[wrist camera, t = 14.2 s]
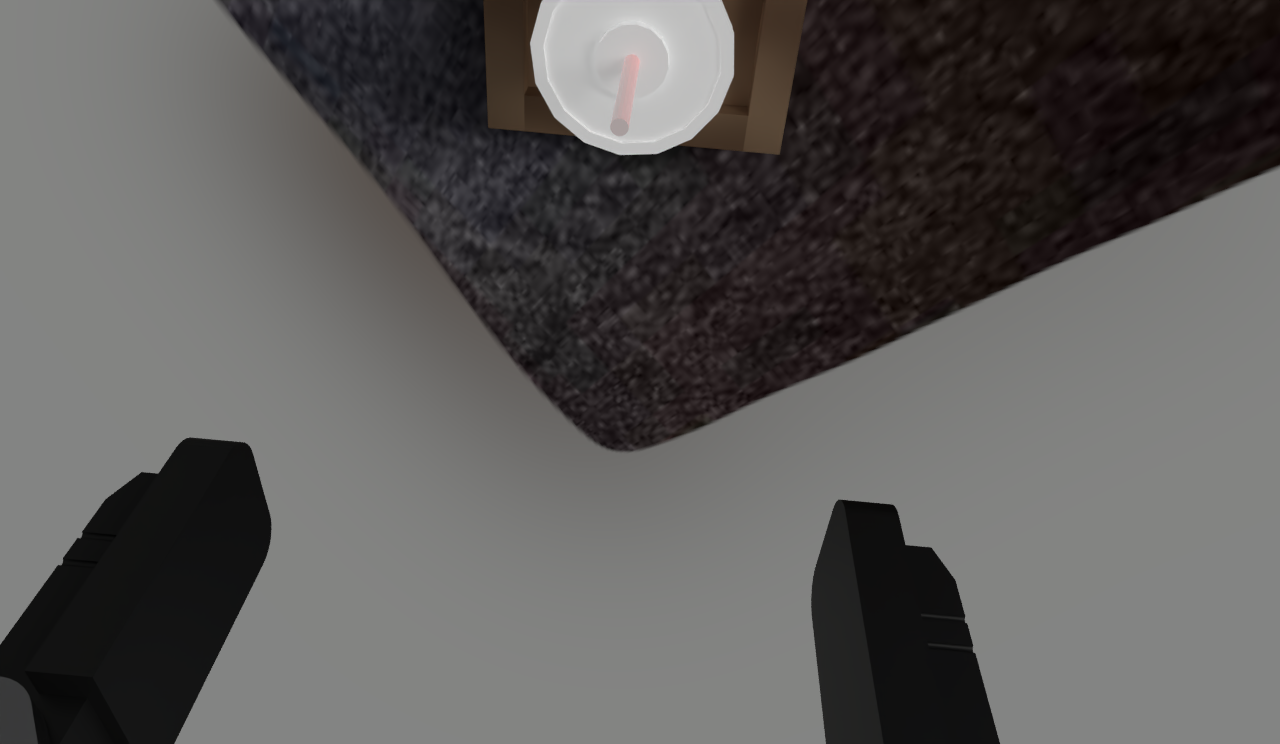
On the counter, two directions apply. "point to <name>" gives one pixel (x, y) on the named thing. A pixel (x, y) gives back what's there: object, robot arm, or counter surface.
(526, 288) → the counter surface
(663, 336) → the counter surface
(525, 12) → the base plinth
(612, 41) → the beverage cup
